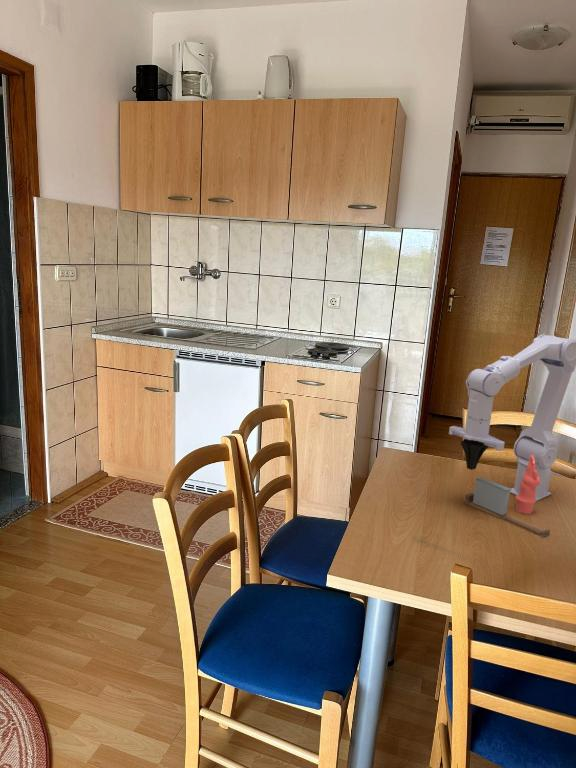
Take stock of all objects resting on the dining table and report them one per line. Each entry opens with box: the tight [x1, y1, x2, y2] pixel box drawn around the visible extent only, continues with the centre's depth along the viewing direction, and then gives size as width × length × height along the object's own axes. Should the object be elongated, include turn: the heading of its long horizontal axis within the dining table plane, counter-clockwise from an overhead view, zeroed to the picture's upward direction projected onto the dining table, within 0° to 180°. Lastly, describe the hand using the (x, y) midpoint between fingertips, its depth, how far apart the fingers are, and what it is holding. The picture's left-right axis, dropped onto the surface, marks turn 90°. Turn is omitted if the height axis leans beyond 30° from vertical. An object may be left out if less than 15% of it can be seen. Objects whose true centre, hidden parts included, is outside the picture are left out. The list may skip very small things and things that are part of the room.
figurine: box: [515, 455, 540, 515], centre depth 139 cm, size 5×5×15 cm
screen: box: [473, 476, 512, 515], centre depth 138 cm, size 2×9×7 cm, turn 38°
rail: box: [464, 491, 551, 539], centre depth 135 cm, size 3×21×2 cm, turn 38°
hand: (471, 468), depth 139 cm, fingers closed
